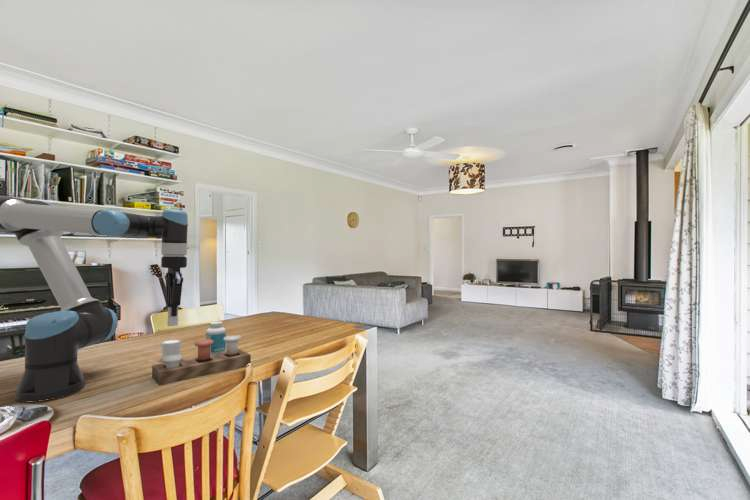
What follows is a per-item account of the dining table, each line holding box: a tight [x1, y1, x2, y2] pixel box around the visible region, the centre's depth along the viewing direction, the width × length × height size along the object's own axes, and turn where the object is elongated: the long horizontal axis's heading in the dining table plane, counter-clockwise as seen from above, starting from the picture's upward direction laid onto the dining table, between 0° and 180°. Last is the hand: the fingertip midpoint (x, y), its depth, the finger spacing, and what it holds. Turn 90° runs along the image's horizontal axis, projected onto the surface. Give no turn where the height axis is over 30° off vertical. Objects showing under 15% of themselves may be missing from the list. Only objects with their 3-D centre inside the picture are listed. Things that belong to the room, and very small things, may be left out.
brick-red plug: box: [194, 339, 213, 360], centre depth 126 cm, size 6×6×6 cm
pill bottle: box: [205, 321, 227, 355], centre depth 145 cm, size 8×7×14 cm
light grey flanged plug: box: [160, 339, 182, 359], centre depth 139 cm, size 7×7×7 cm
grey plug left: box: [162, 354, 184, 369], centre depth 119 cm, size 6×6×6 cm
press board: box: [151, 348, 252, 386], centre depth 126 cm, size 30×10×4 cm, turn 133°
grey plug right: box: [224, 334, 242, 355], centre depth 133 cm, size 6×6×6 cm
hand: (172, 325), depth 119 cm, fingers closed
